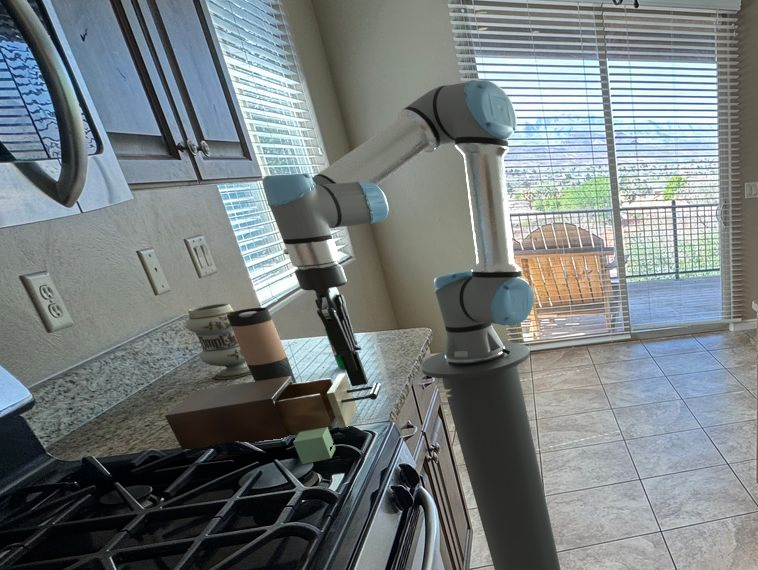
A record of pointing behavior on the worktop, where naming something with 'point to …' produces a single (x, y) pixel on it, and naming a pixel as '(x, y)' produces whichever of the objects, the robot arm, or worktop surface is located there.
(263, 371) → the travel mug
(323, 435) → the block
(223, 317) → the apothecary jar
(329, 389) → the drawer
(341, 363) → the soda can
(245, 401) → the cabinet
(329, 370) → the worktop surface
